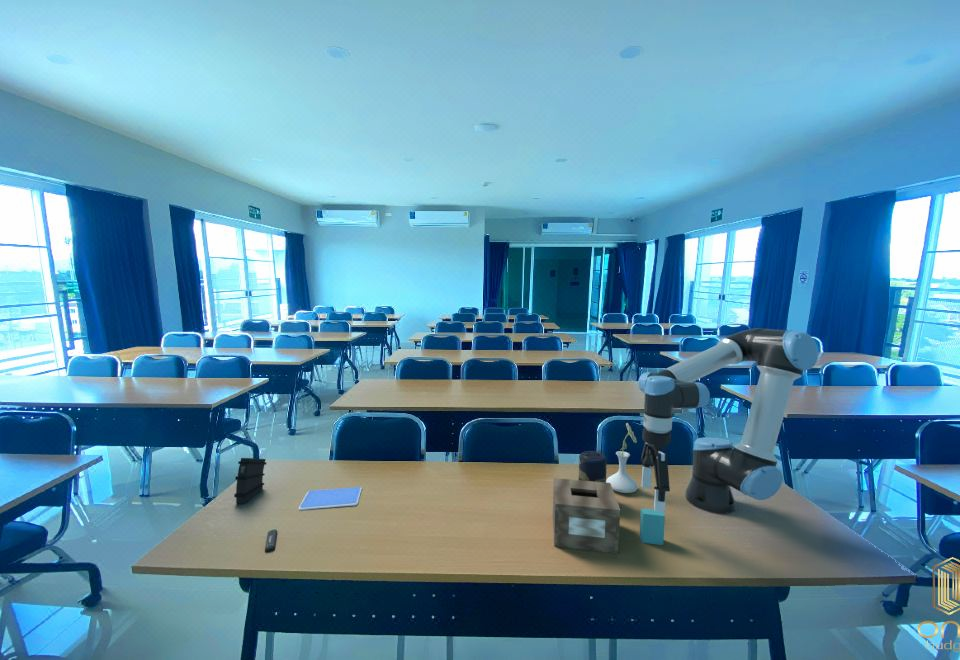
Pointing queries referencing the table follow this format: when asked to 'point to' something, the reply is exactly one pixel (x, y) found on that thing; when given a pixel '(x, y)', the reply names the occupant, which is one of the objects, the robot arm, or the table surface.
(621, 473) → the flower in vase
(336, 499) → the tablet computer
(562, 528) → the suggestion box
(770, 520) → the table surface
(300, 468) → the table surface
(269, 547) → the usb stick
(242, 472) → the black flat ridged block
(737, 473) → the robot arm
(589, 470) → the canister
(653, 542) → the block
